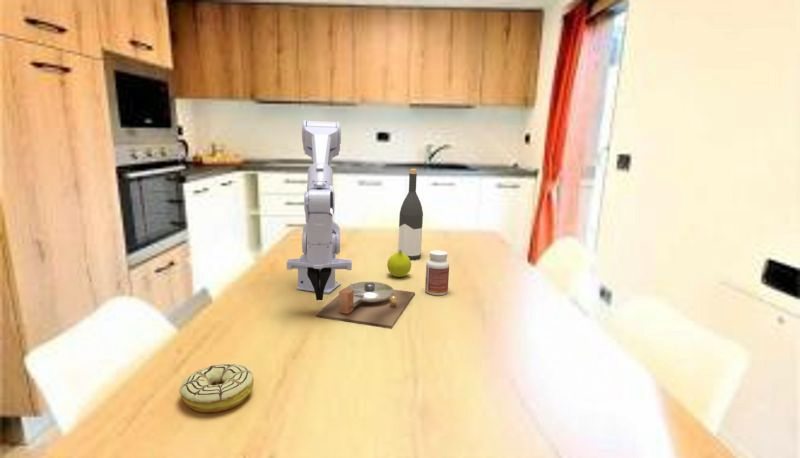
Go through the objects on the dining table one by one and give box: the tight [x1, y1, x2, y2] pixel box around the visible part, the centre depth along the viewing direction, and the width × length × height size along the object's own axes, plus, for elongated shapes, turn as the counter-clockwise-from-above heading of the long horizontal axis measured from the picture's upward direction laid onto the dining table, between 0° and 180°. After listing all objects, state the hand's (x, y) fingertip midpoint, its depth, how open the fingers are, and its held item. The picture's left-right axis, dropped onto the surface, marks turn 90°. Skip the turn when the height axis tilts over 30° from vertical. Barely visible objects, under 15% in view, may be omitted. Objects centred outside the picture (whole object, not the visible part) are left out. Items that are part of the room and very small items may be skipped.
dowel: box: [390, 295, 397, 308], centre depth 108 cm, size 2×2×3 cm
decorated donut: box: [178, 363, 255, 414], centre depth 71 cm, size 10×11×4 cm
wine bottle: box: [397, 168, 424, 261], centre depth 150 cm, size 8×8×30 cm
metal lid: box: [338, 281, 394, 314], centre depth 110 cm, size 18×12×5 cm, turn 155°
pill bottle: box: [424, 249, 450, 296], centre depth 120 cm, size 6×6×11 cm
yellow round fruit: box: [386, 248, 412, 278], centre depth 132 cm, size 7×7×10 cm
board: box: [315, 289, 416, 329], centre depth 110 cm, size 18×22×2 cm
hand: (319, 298), depth 104 cm, fingers closed
